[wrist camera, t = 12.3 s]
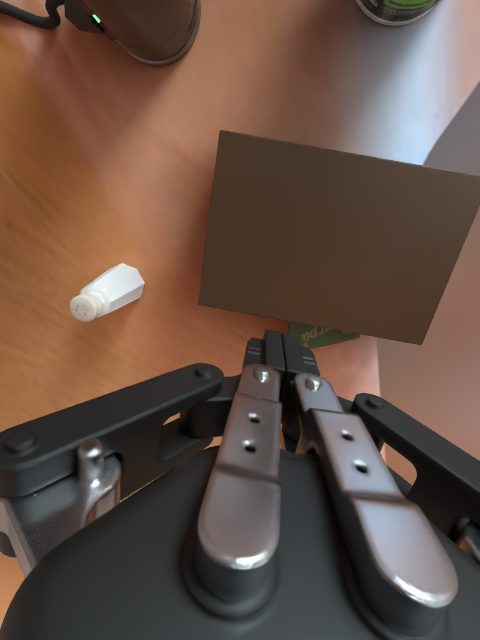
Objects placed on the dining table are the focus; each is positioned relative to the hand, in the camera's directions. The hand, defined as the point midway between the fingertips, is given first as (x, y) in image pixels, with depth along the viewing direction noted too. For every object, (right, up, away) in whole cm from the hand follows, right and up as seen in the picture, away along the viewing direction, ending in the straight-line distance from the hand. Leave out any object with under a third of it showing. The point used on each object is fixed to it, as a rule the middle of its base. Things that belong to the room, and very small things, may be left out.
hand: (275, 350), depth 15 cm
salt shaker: (-17, +6, +28) cm, 33 cm away
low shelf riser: (+8, +11, +24) cm, 28 cm away
